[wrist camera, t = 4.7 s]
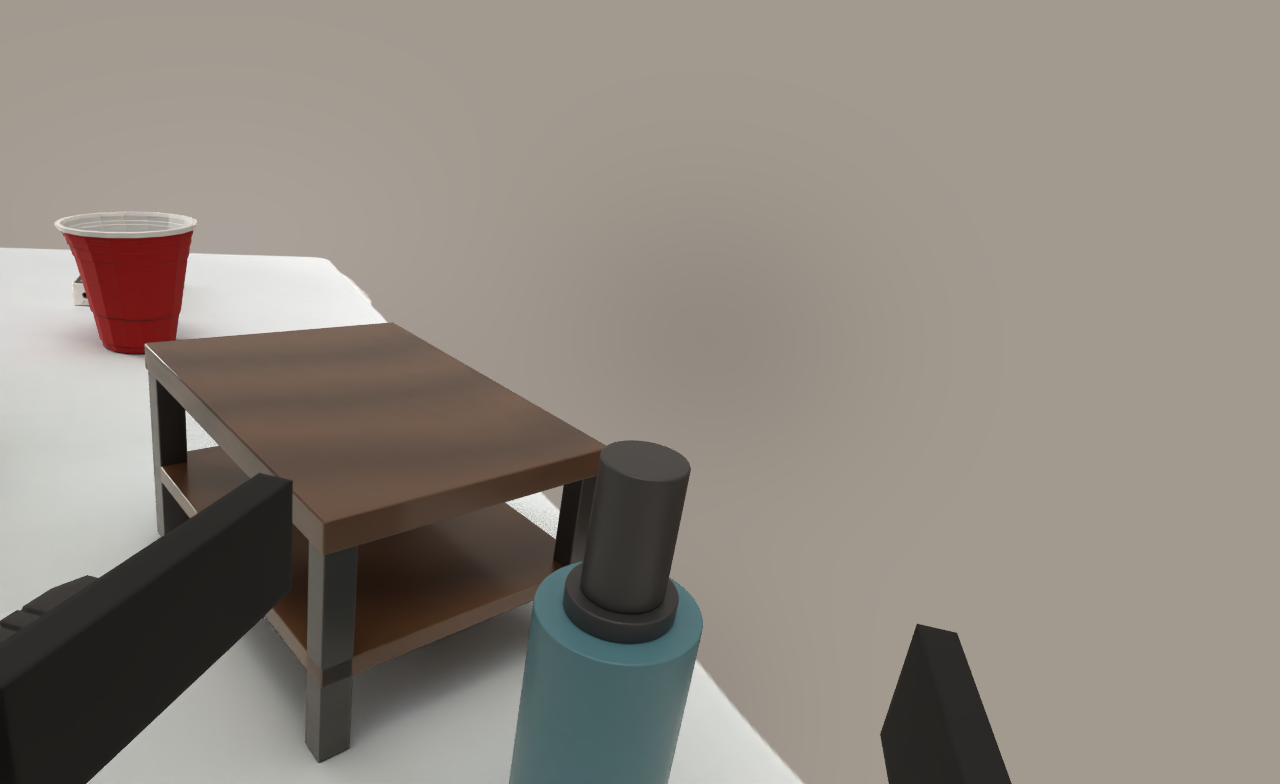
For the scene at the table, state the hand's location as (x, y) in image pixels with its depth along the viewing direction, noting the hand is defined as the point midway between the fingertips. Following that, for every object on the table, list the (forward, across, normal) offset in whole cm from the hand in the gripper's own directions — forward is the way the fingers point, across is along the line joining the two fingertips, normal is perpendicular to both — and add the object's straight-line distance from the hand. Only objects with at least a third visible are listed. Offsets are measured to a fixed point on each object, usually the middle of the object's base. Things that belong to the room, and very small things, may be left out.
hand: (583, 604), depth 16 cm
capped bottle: (+10, 0, -19) cm, 21 cm away
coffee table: (+23, -16, -19) cm, 34 cm away
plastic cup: (+49, -53, -19) cm, 75 cm away
